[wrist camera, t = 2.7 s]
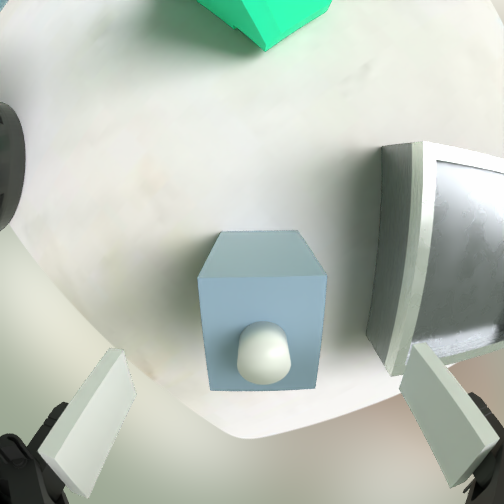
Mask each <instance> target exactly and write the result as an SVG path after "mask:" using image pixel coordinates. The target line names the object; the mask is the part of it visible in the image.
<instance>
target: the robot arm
mask: <svg viewBox="0 0 504 504" xmlns="http://www.w3.org/2000/svg"><path fill="white" fill-rule="evenodd" d="M8 1H9V0H0V12H1V10H2V9H3V7H4V6H5V5H6V3H7V2H8ZM24 172H25V144H24V136H23V131H22V127H21V124H20V121H19V119H18V117H17V115H16V113H15V111H14V110H13V109H12V108H11V107H10V106H9V105H7V104H5V103H1V102H0V231H1V230H2V229H4V228H5V226H6V225H7V224H8V223H9V222H10V220H11V218H12V217H13V215H14V213H15V210H16V208H17V205H18V202H19V199H20V195H21V191H22V186H23V180H24ZM399 390H400V392H401V393H402V395H403V397H404V399H405V401H406V402H407V404H408V406H409V408H410V410H411V411H412V413H413V415H414V417H415V419H416V421H417V422H418V424H419V426H420V428H421V430H422V432H423V434H424V436H425V438H426V440H427V442H428V444H429V446H430V447H431V450H432V452H433V454H434V455H435V458H436V460H437V462H438V464H439V465H440V468H441V470H442V472H443V474H444V476H445V478H446V480H447V482H448V484H449V486H450V488H452V487H455V486H457V485H459V484H461V483H463V482H465V481H466V480H467V479H468V478H469V477H470V476H471V474H472V473H473V475H474V477H475V478H474V479H473V481H472V482H471V483H470V484H469V485H468V486H467V487H466V488H465V489H464V491H463V493H465V492H466V491H467V490H468V489H469V488H470V490H469V493H468V497H467V500H466V503H465V504H504V428H503V426H502V425H501V424H500V422H499V421H498V420H497V418H496V417H495V416H494V414H492V412H491V411H490V409H489V408H487V405H486V404H485V403H484V401H483V400H482V399H481V398H480V397H479V396H477V395H476V394H474V393H472V392H471V393H469V394H467V393H466V391H465V390H464V389H463V387H462V386H461V385H460V384H459V382H458V381H457V380H456V379H455V377H454V376H453V375H452V374H451V372H450V371H449V370H448V369H447V367H446V366H445V365H444V364H443V362H442V361H441V360H440V359H439V358H438V356H437V355H436V354H435V353H434V352H433V350H432V349H431V348H430V347H429V346H428V344H427V343H426V342H425V343H419V344H413V345H412V349H411V352H410V356H409V359H408V362H407V366H406V369H405V372H404V375H403V378H402V381H401V384H400V387H399ZM136 395H137V393H136V390H135V387H134V384H133V380H132V377H131V374H130V371H129V367H128V364H127V360H126V357H125V353H124V350H121V349H113V348H109V350H108V351H107V352H106V353H105V355H104V356H103V357H102V359H101V360H100V362H99V363H98V364H97V366H96V367H95V368H94V370H93V371H92V372H91V374H90V375H89V376H88V378H87V379H86V380H85V382H84V383H83V385H82V386H81V388H80V389H79V390H78V392H77V393H76V395H75V396H74V397H73V399H72V400H71V402H70V403H65V402H62V403H61V404H59V405H58V406H57V407H55V408H54V409H53V410H52V412H51V413H50V414H49V416H48V418H47V419H46V420H45V422H44V424H43V425H42V426H41V427H40V429H39V430H38V431H37V433H36V434H35V436H34V437H33V439H32V440H31V442H30V443H29V445H28V446H27V447H26V446H25V444H24V443H23V442H22V440H21V439H20V438H19V437H18V436H17V435H14V434H5V435H2V436H1V437H0V504H69V502H68V500H67V497H66V495H65V493H64V491H63V489H64V487H65V485H66V486H67V487H68V488H69V489H70V491H71V492H73V493H75V494H78V495H80V496H83V497H85V498H89V496H90V494H91V492H92V489H93V487H94V485H95V483H96V480H97V478H98V475H99V473H100V471H101V469H102V466H103V465H104V462H105V460H106V458H107V456H108V454H109V451H110V449H111V447H112V445H113V442H114V440H115V438H116V436H117V434H118V432H119V430H120V428H121V426H122V424H123V422H124V419H125V417H126V415H127V413H128V411H129V409H130V407H131V405H132V403H133V401H134V398H135V397H136Z"/></svg>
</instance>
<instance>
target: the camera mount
mask: <svg viewBox="0 0 504 504" xmlns="http://www.w3.org/2000/svg"><path fill="white" fill-rule="evenodd" d="M197 2H198V3H200V4H201V5H203V6H204V7H205V8H207V9H208V10H209V11H211V12H212V13H214V14H215V15H216V16H217V17H219V18H220V19H221V20H223V21H224V22H225V23H226V24H228V25H229V26H230V27H231V28H233V29H235V28H238V29H239V30H240V31H241V32H243V33H244V34H245V35H246V36H247V37H249V38H250V39H251V40H252V41H253V42H254V43H256V44H257V45H258V46H259V47H260V48H261V49H262V50H264V51H265V52H266V51H267V50H269V49H270V48H271V47H273V46H274V45H276V44H277V43H278V42H280V41H281V40H283V39H284V38H286V37H287V36H289V35H290V34H292V33H293V32H295V31H296V30H298V29H299V28H301V27H302V26H304V25H305V24H307V23H309V22H310V21H312V20H314V19H315V18H317V17H318V16H320V15H322V14H324V13H325V12H326V11H327V10H328V8H329V6H330V4H331V2H332V0H197Z"/></svg>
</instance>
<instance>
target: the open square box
mask: <svg viewBox="0 0 504 504" xmlns="http://www.w3.org/2000/svg"><path fill="white" fill-rule="evenodd" d="M366 336H367V337H368V339H369V341H370V342H371V344H372V346H373V347H374V349H375V351H376V352H377V354H378V356H379V357H380V359H381V361H382V363H383V364H384V366H385V368H386V369H387V371H388V373H389V375H390V376H391V377H392V376H398V375H403V374H404V372H405V369H406V366H407V362H408V359H409V356H410V352H411V349H412V345H413V344H419V343H425V342H426V343H427V344H428V346H429V347H430V348H431V349H432V350H433V352H434V353H435V354H436V355H437V356H438V358H439V359H440V360H441V361H442V362H443V364H444V365H448V364H452V363H456V362H460V361H463V360H467V359H471V358H474V357H477V356H481V355H484V354H487V353H490V352H493V351H496V350H499V349H502V348H504V159H500V158H496V157H493V156H489V155H485V154H481V153H477V152H473V151H469V150H464V149H460V148H455V147H450V146H445V145H440V144H435V143H429V142H413V143H404V144H395V145H387V146H382V194H381V215H380V230H379V243H378V253H377V263H376V272H375V280H374V288H373V295H372V302H371V308H370V314H369V320H368V326H367V332H366Z"/></svg>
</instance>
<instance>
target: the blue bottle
mask: <svg viewBox="0 0 504 504" xmlns="http://www.w3.org/2000/svg"><path fill="white" fill-rule="evenodd" d="M197 279H198V290H199V300H200V310H201V320H202V329H203V338H204V346H205V354H206V362H207V370H208V377H209V385H210V390H212V391H279V390H299V389H314V388H315V386H316V379H317V372H318V365H319V357H320V348H321V340H322V331H323V321H324V310H325V299H326V287H327V274H326V273H325V271H324V270H323V268H322V266H321V265H320V263H319V262H318V260H317V259H316V257H315V256H314V254H313V253H312V251H311V250H310V248H309V247H308V245H307V244H306V242H305V241H304V239H303V238H302V236H301V235H300V233H299V232H298V230H291V231H227V232H221V233H220V235H219V236H218V238H217V240H216V242H215V244H214V246H213V248H212V250H211V252H210V254H209V256H208V258H207V260H206V262H205V264H204V266H203V268H202V270H201V272H200V274H199V276H198V277H197Z"/></svg>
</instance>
